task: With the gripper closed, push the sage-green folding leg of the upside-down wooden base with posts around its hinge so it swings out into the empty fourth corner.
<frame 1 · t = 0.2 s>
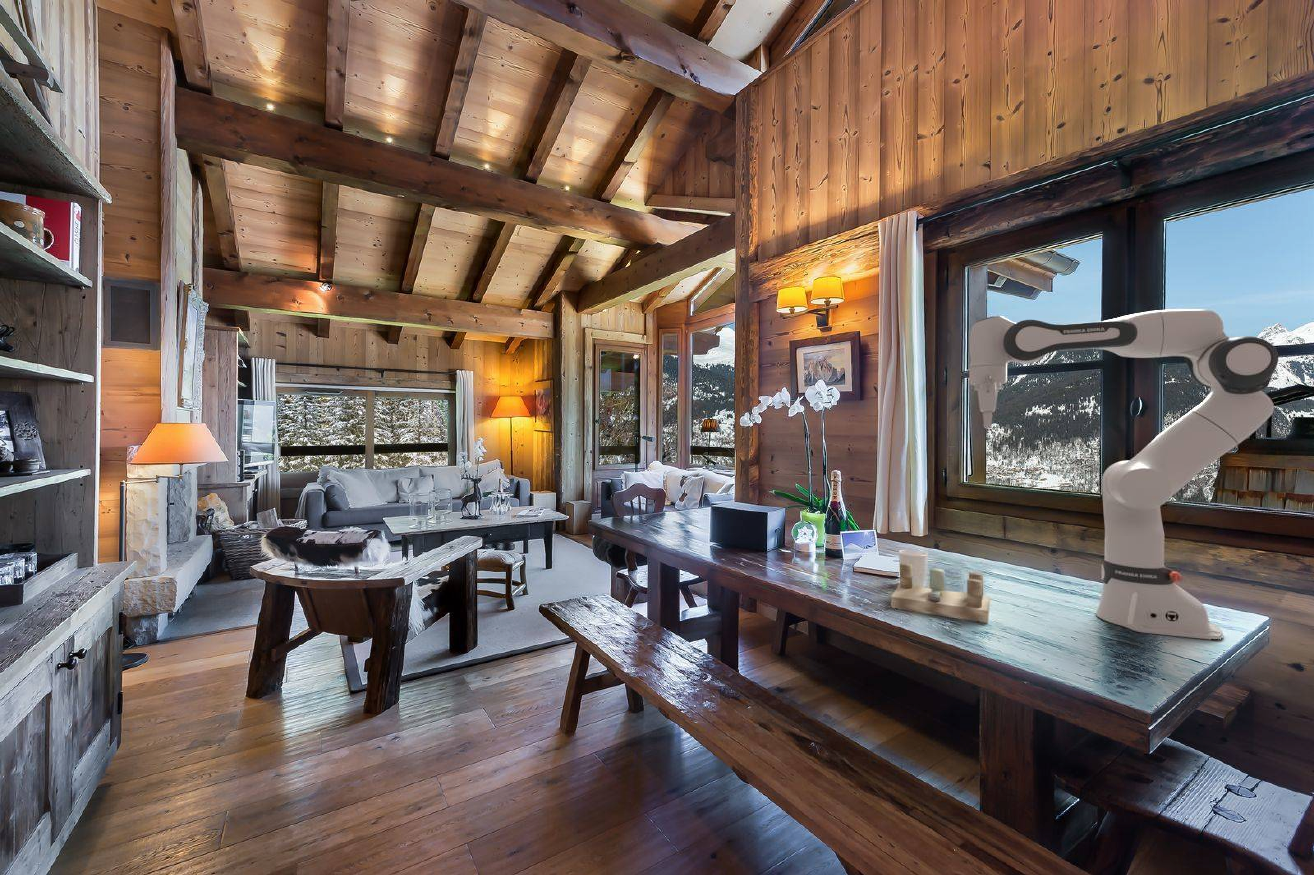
hand: (987, 428, 151), 47 cm above the table, tool pointing down, fingers open, 8 cm apart
wooden base with posts: (940, 607, 146), on the table
folding leg: (935, 584, 146), point 6 cm above the table, hinge at 0.0°
white cup: (913, 586, 167), on the table
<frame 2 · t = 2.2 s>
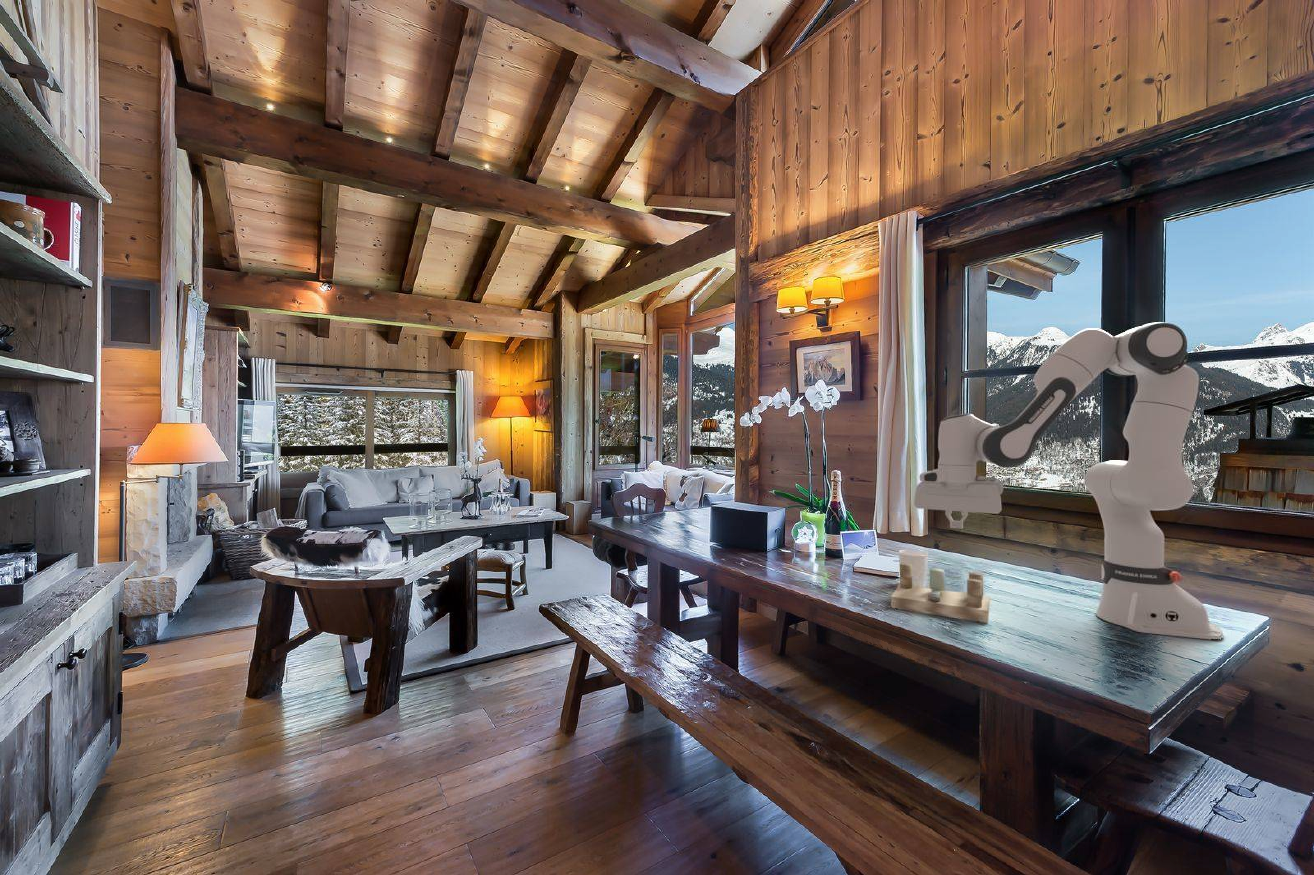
hand: (956, 527, 146), 21 cm above the table, tool pointing down, fingers closed
nothing on the table moved.
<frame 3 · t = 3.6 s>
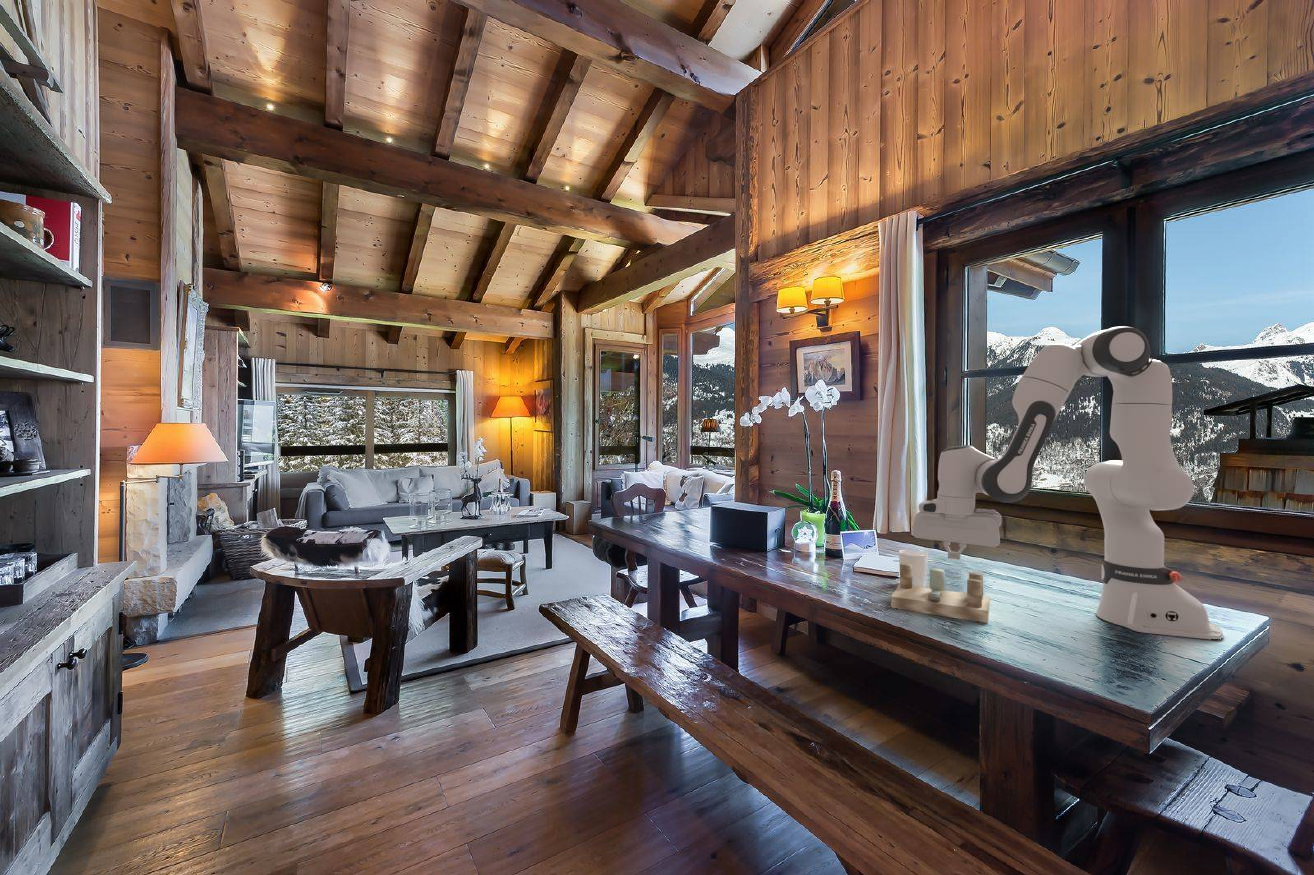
hand: (954, 558, 147), 13 cm above the table, tool pointing down, fingers closed
nothing on the table moved.
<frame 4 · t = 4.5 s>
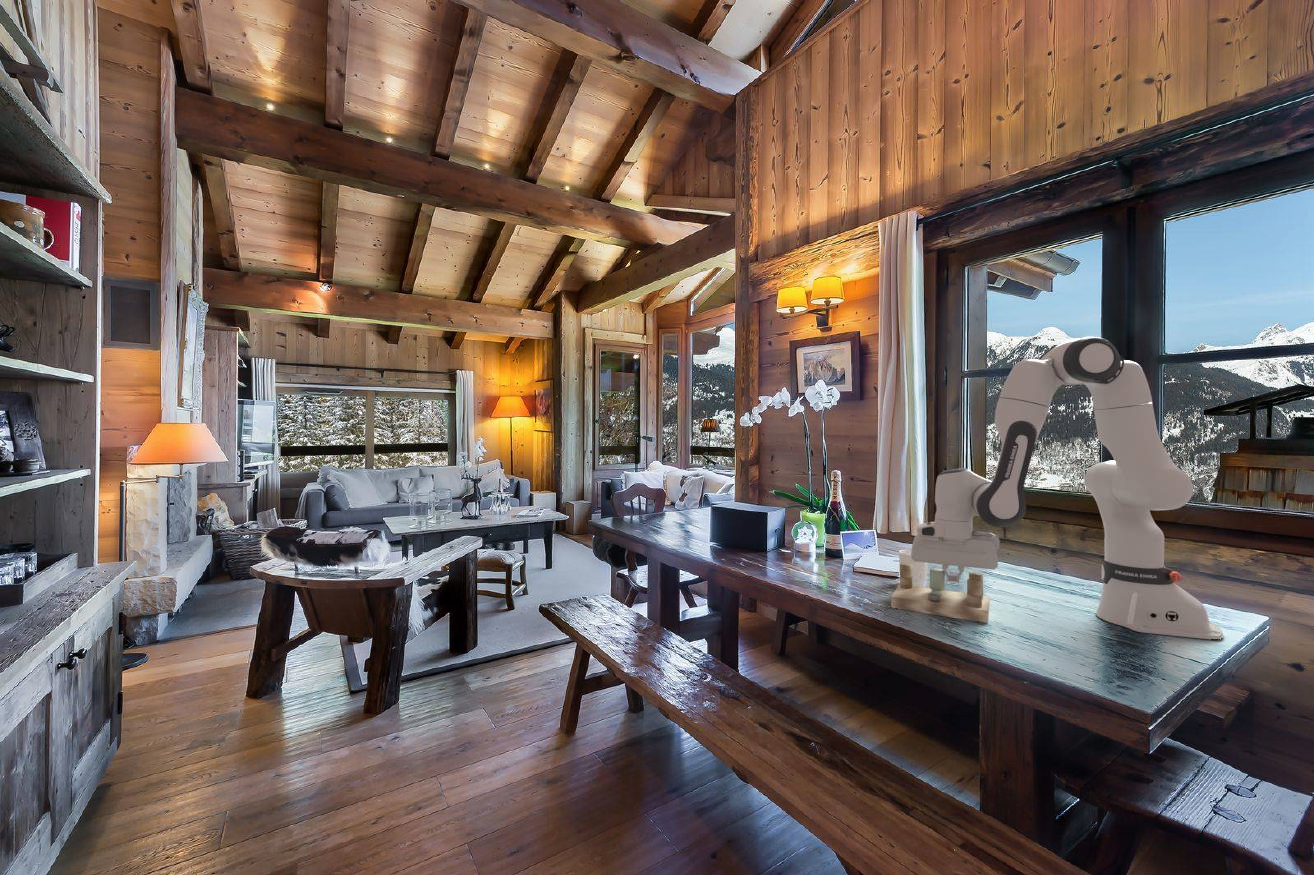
hand: (953, 581, 147), 7 cm above the table, tool pointing down, fingers closed
folding leg: (935, 584, 146), point 6 cm above the table, hinge at 0.0°, touching gripper
everything else where it was.
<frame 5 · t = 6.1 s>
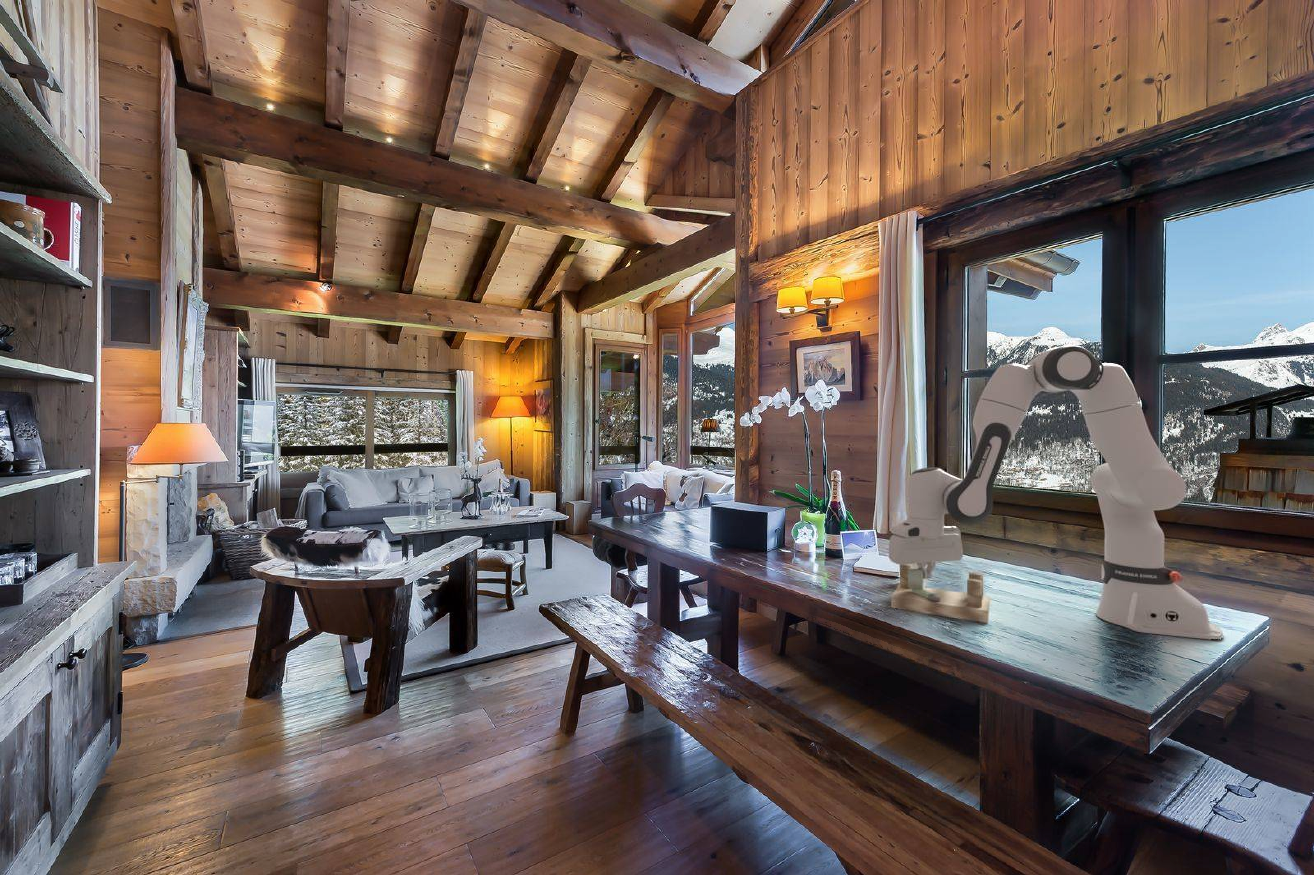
hand: (926, 578, 150), 7 cm above the table, tool pointing down, fingers closed
folding leg: (924, 583, 147), point 6 cm above the table, hinge at 46.0°, touching gripper
everything else where it was.
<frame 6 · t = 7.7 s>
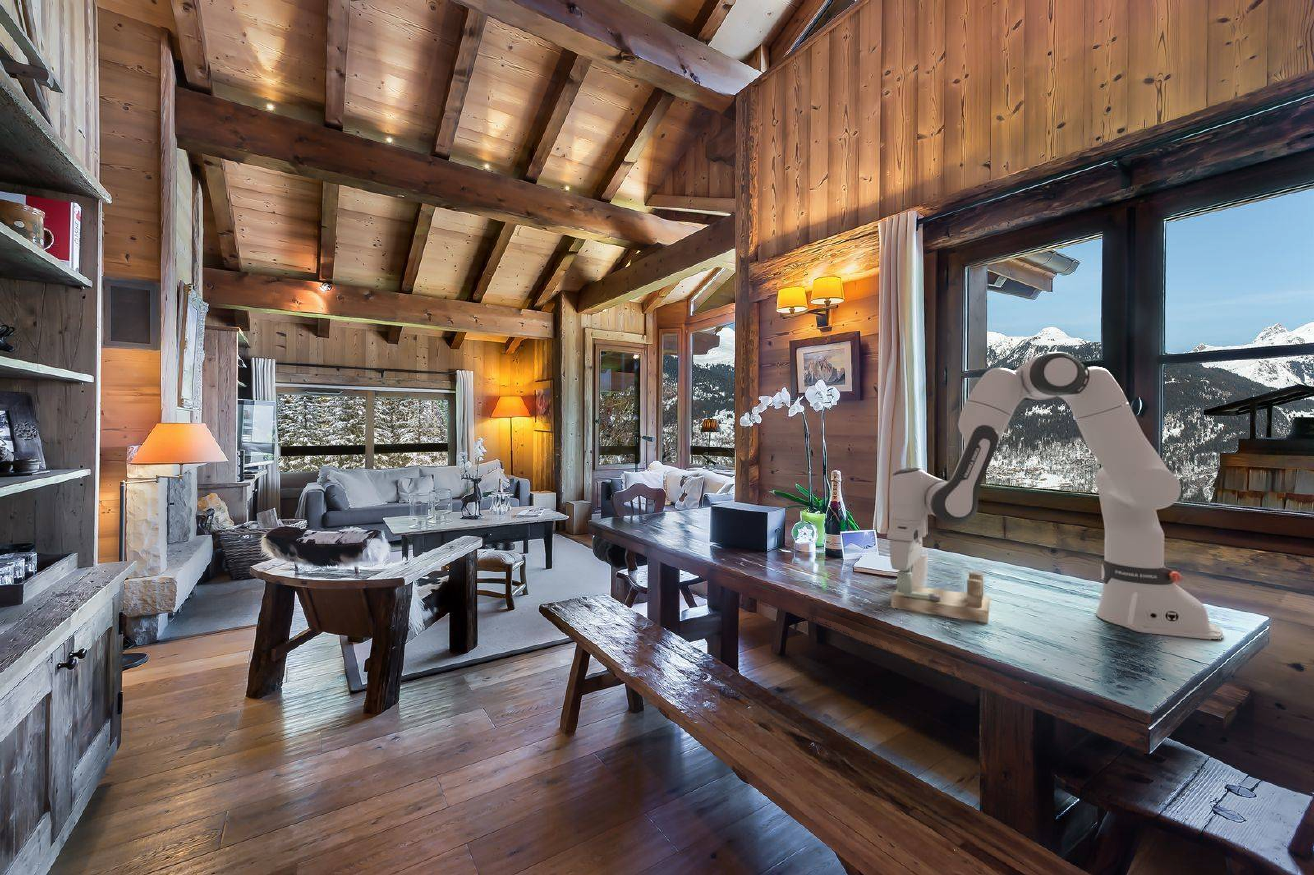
hand: (907, 579, 149), 7 cm above the table, tool pointing down, fingers closed
folding leg: (918, 585, 145), point 6 cm above the table, hinge at 91.0°, touching gripper
everything else where it was.
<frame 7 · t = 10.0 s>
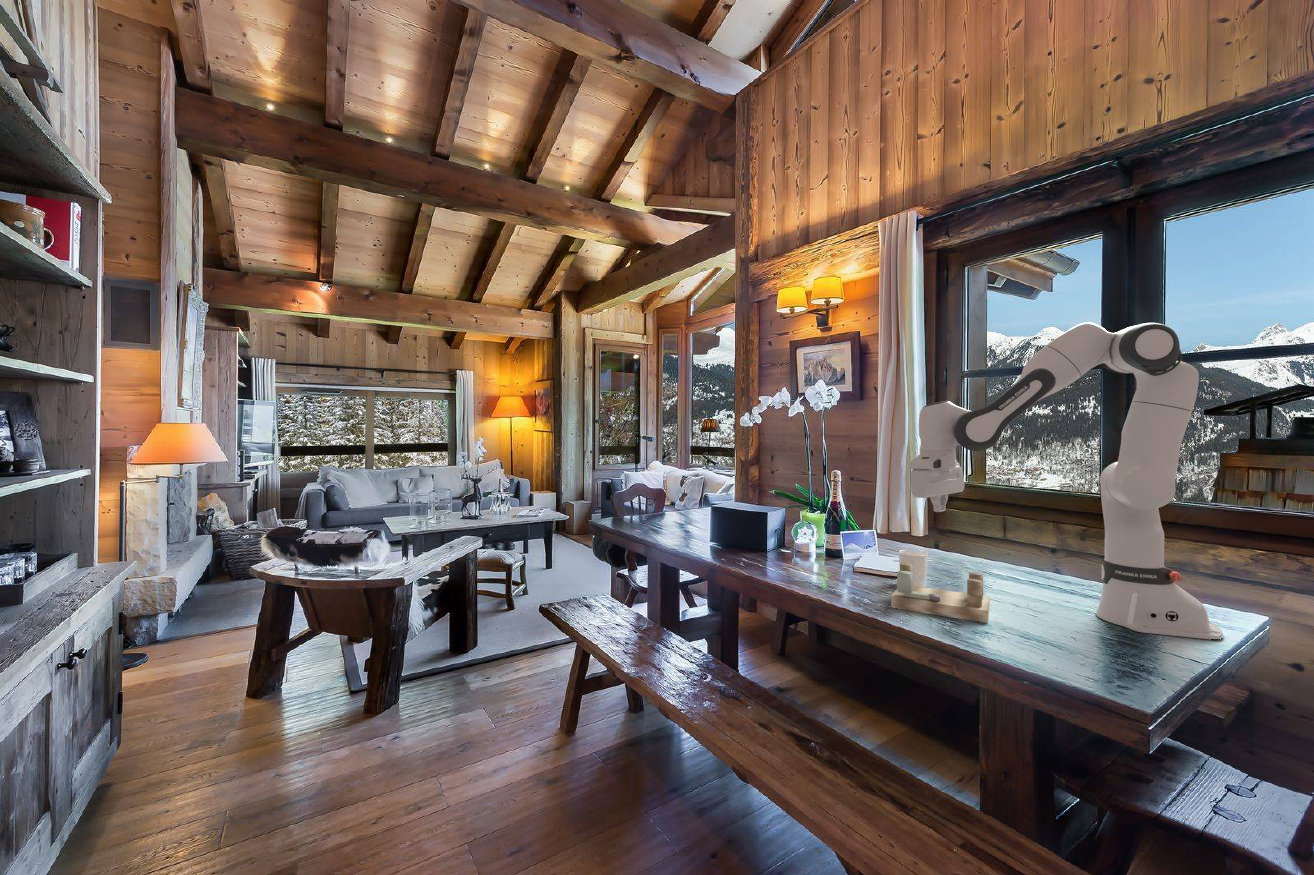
hand: (939, 511, 152), 25 cm above the table, tool pointing down, fingers closed
folding leg: (918, 585, 145), point 6 cm above the table, hinge at 91.6°
everything else where it was.
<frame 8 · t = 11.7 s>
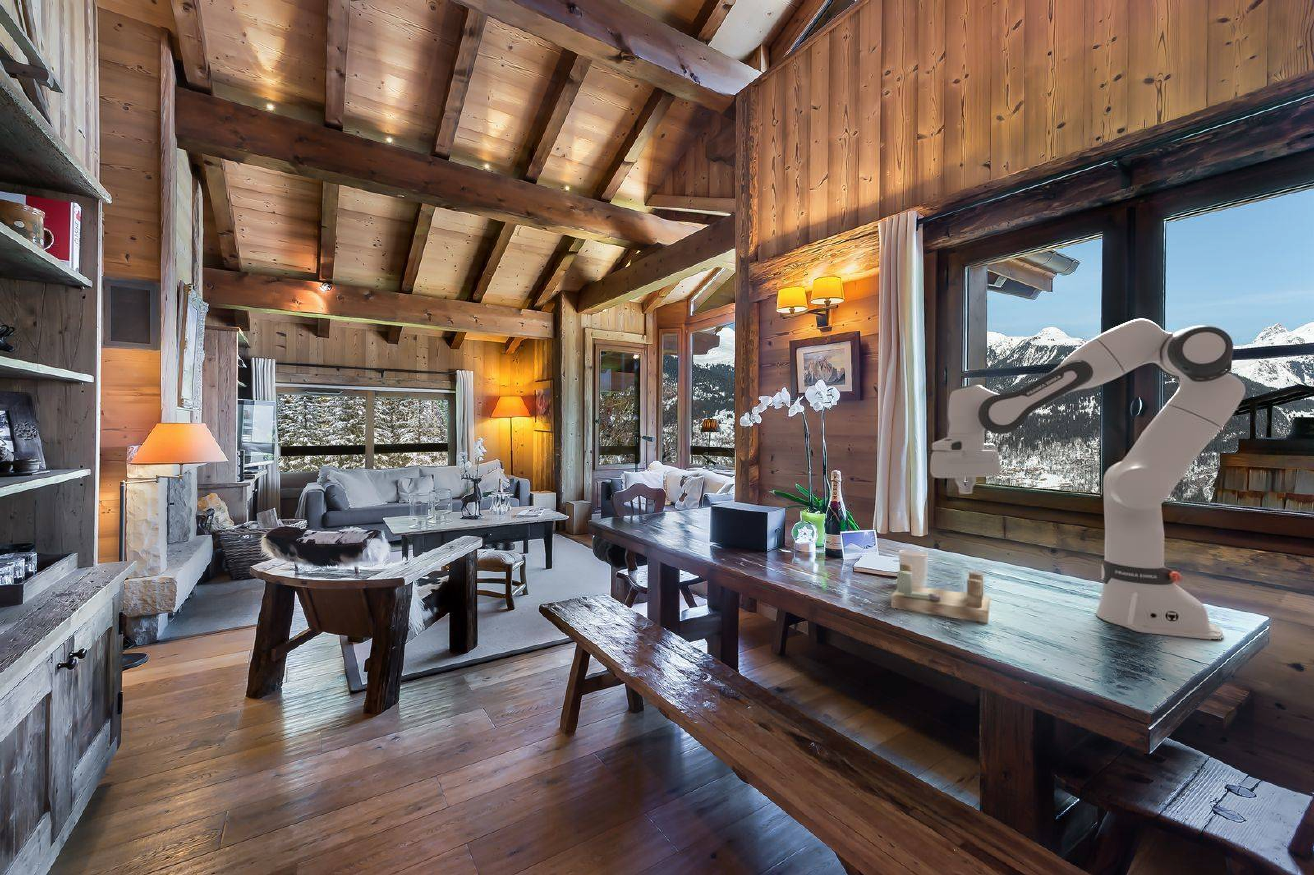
hand: (965, 493, 155), 29 cm above the table, tool pointing down, fingers closed
nothing on the table moved.
at the end: folding leg at +92° (first picture: +0°); white cup moved 0.2 cm from its start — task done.
